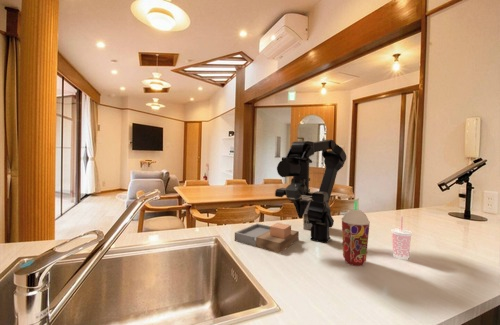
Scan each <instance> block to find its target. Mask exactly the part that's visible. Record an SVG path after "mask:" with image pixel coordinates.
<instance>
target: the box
mask: <svg viewBox="0 0 500 325" xmlns="http://www.w3.org/2000/svg"><path fill="white" fill-rule="evenodd" d="M270 226H271V225H268V224H266V225H265V224H263V223H262V224H261V223H255V224H251V225H250V226H247V227H244V228H242V229H240V230H238V231H235V232H234V241H236V242H239V243H243V244H246V245H250V246H253V247H257V246H256V237H258V236H260V235H262V234H264V233H266V232H268V231H270Z"/></svg>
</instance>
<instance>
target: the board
mask: <svg viewBox="0 0 500 325" xmlns="http://www.w3.org/2000/svg"><path fill="white" fill-rule="evenodd" d="M299 232H300V231H298V230H294V229H291V235H289V236H287V237H286V238H280V237H275V236H271V235H270V231H268V232H266V233H264V234H262V235H260V236H258V237H256V246H255V247H257V248H261V249H265V250H268V251H272V252H275V253H279V254H280V253H283V251H285V250H286V249H287V248H289V247H290V246H292V245H293V244H295V243H296V242H298V241H299V239H300V238H299V236H300V233H299Z"/></svg>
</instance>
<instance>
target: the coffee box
mask: <svg viewBox="0 0 500 325" xmlns="http://www.w3.org/2000/svg"><path fill="white" fill-rule="evenodd" d="M309 193H314V191H313V192H311V191H310V192H309ZM312 201H313V200H312ZM310 202H311V201H310ZM310 202H309V203H308V205H307V207H306V209H305V212H304V214H303V216H302V218H303V220H302V223H303V224H302V225H303V226H302V228H303V229H304V230H311V227H312V224H311V223H309V221H308V216H307V211H308V208H309V205H310Z"/></svg>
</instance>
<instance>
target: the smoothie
mask: <svg viewBox="0 0 500 325" xmlns="http://www.w3.org/2000/svg"><path fill="white" fill-rule="evenodd" d="M370 223H371V221H370V220H369V218H368V216H367V214H366V213H365V212H364V211H362V210H360V209H358V201H357V200H354V208H352V209H349V210H348V211H346V212H345V213H344V215H343V217H342V218H341V233H342V257H343V258H344V262H346V263H347V264H348V265H351V266H357V267H359V266H364V264H365V262H366V261H367V253H368V245H369V244H368V243H369V234H370Z"/></svg>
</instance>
